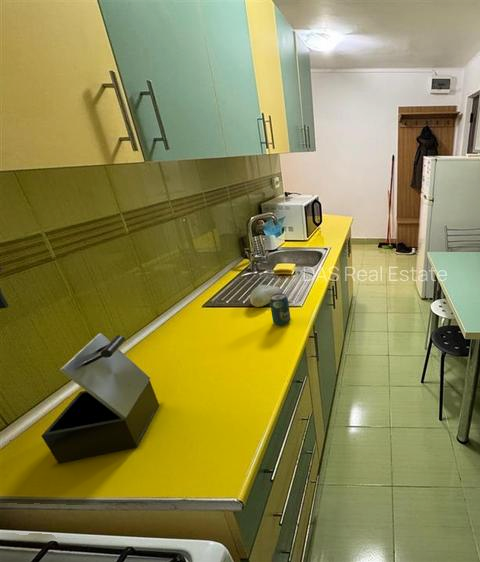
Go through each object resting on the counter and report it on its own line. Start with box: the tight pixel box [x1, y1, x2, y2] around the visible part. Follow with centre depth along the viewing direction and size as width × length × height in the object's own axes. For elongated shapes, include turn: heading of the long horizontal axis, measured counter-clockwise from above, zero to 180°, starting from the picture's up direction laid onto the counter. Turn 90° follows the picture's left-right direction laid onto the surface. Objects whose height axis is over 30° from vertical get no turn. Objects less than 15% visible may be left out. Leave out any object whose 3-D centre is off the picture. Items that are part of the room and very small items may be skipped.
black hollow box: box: [40, 379, 160, 464], centre depth 74 cm, size 16×14×9 cm
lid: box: [59, 332, 151, 419], centre depth 71 cm, size 17×14×7 cm
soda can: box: [269, 292, 292, 327], centre depth 122 cm, size 7×7×12 cm
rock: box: [249, 284, 282, 308], centre depth 141 cm, size 8×11×20 cm
